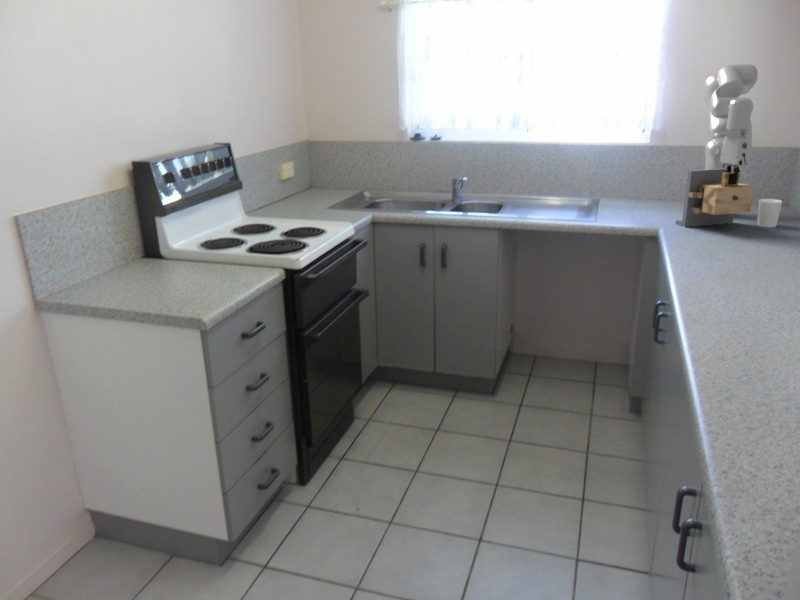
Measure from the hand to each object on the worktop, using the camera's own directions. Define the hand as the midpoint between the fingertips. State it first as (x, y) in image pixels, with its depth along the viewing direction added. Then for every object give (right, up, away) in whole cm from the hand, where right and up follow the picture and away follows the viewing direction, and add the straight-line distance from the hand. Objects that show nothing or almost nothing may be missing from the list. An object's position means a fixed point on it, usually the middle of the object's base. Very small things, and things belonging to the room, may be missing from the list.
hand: (729, 183), depth 250 cm
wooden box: (0, -10, +5) cm, 11 cm away
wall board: (-2, -14, +15) cm, 20 cm away
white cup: (+20, -15, +11) cm, 27 cm away
